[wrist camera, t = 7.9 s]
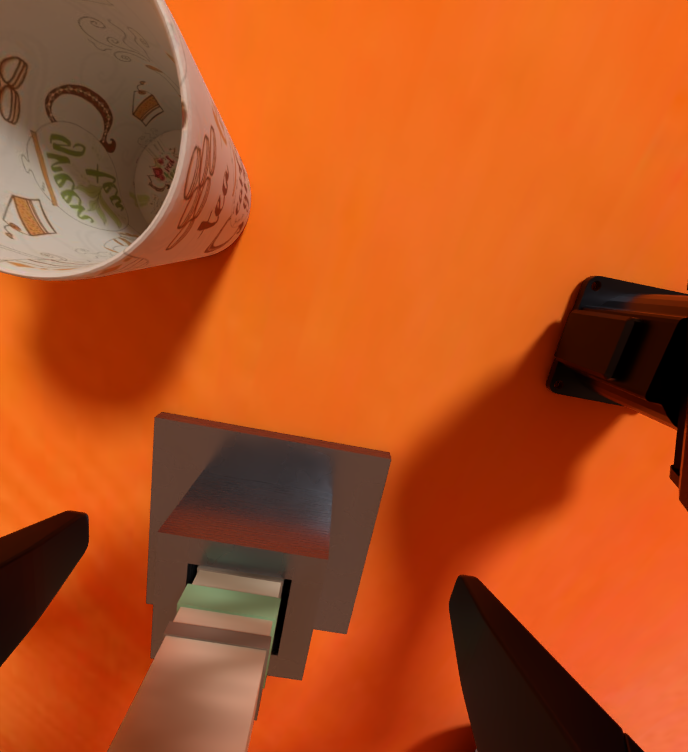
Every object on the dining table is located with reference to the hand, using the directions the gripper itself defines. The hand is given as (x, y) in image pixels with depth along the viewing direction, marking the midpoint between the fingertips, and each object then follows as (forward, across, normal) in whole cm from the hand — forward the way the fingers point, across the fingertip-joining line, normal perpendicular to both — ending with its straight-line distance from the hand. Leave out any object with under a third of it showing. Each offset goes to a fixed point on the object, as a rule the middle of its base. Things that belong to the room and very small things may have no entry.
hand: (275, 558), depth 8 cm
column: (+7, +2, +10) cm, 13 cm away
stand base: (+12, +2, +10) cm, 16 cm away
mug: (+13, +10, -10) cm, 19 cm away
